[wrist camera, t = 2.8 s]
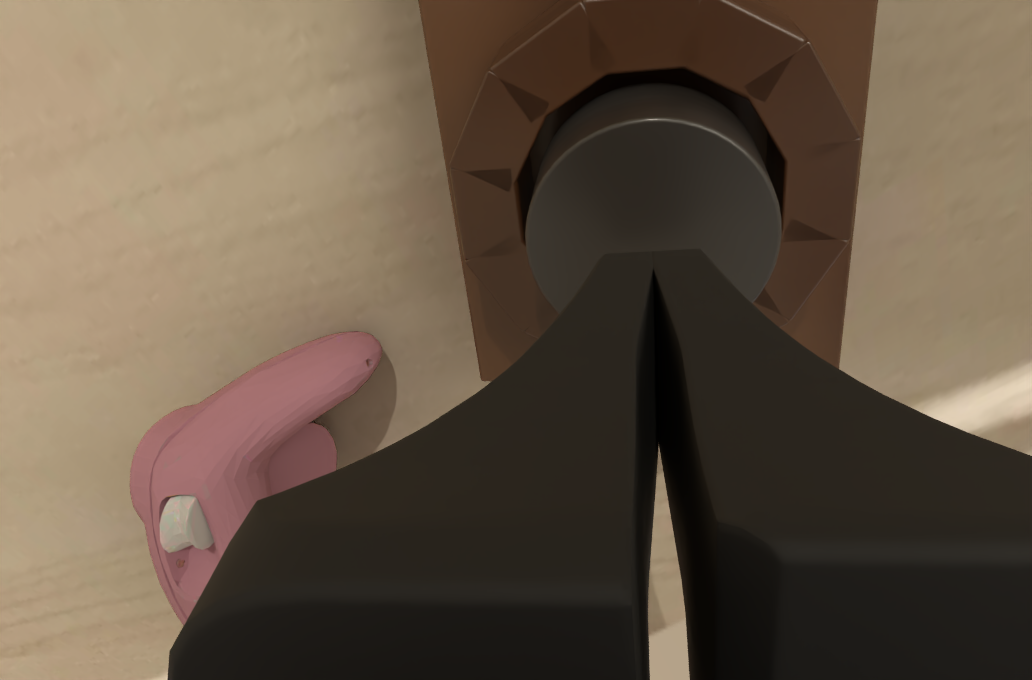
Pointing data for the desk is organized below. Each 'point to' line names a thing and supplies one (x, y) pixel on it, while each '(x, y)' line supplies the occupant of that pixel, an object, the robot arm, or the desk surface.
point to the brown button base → (650, 59)
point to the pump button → (651, 190)
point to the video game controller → (239, 455)
